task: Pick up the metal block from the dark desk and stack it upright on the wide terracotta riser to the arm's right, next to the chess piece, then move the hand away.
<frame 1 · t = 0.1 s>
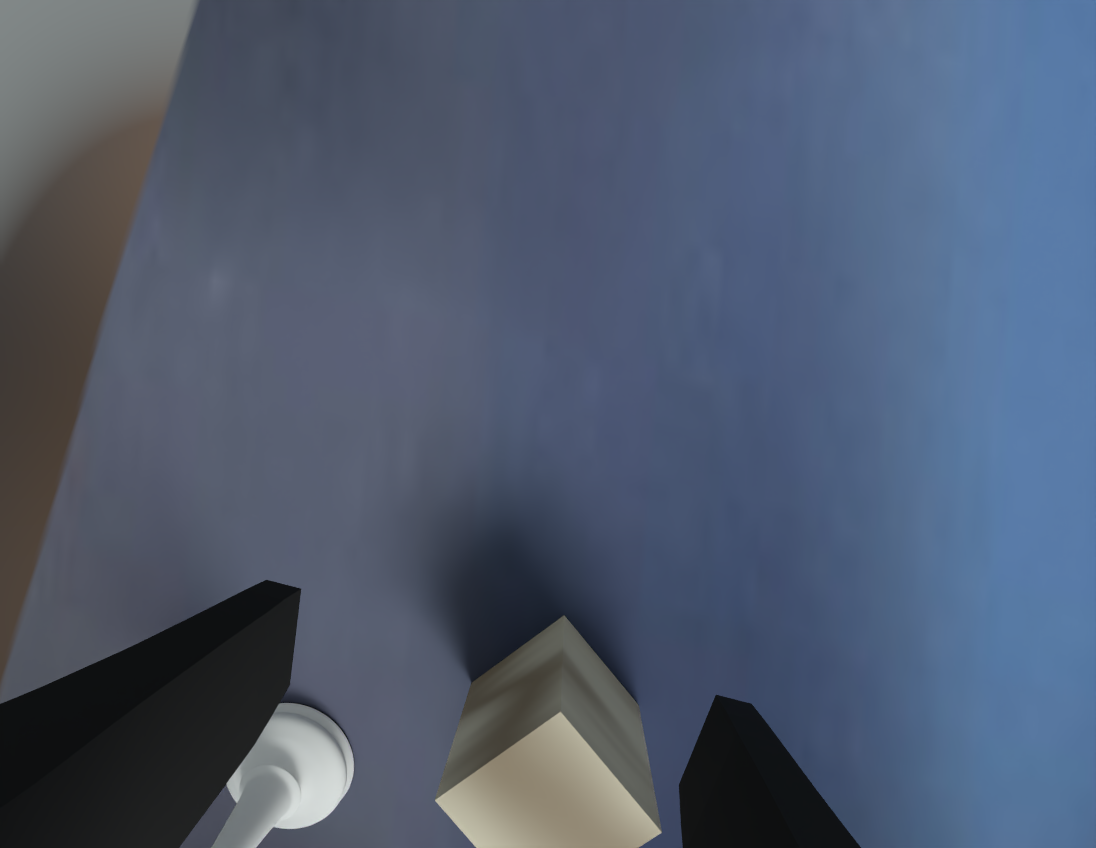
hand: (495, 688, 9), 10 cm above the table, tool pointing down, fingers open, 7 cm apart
metal block: (554, 693, 21), on the table
chess piece: (295, 755, 22), on the table
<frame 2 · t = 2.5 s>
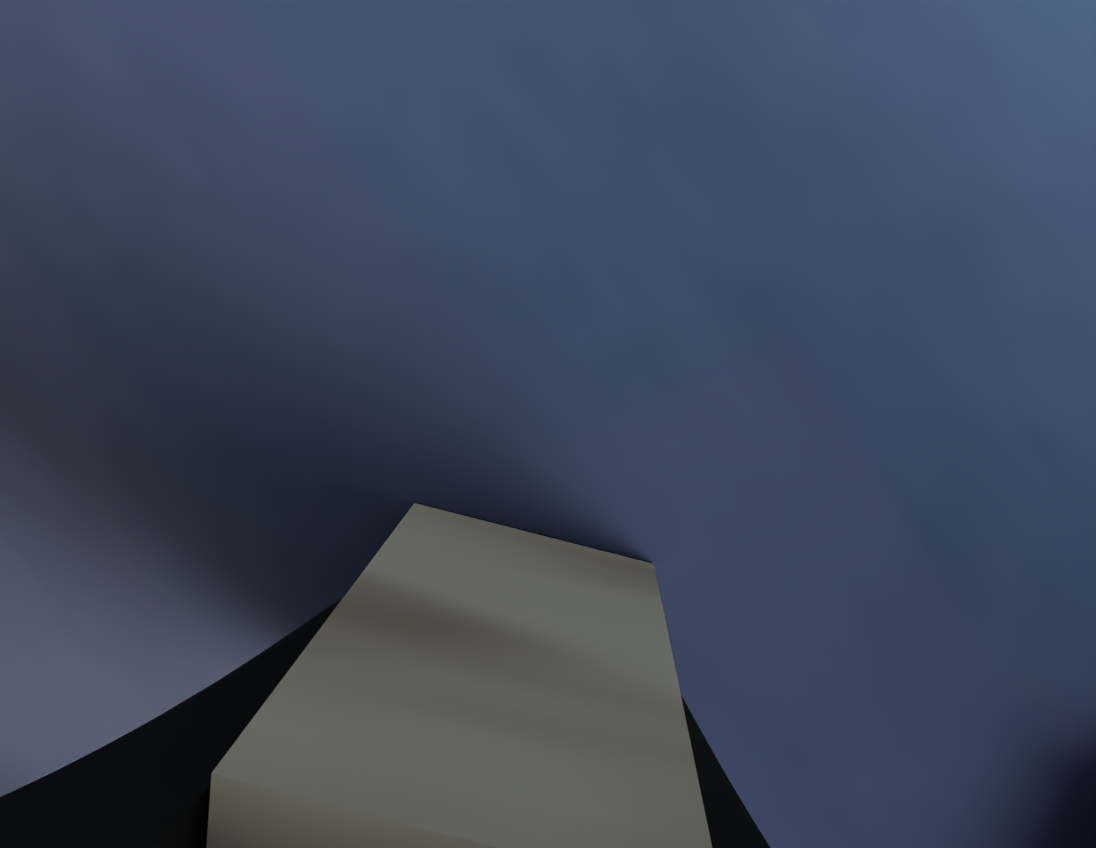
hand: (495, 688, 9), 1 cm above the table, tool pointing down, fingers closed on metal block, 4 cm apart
metal block: (507, 634, 11), on the table, touching gripper
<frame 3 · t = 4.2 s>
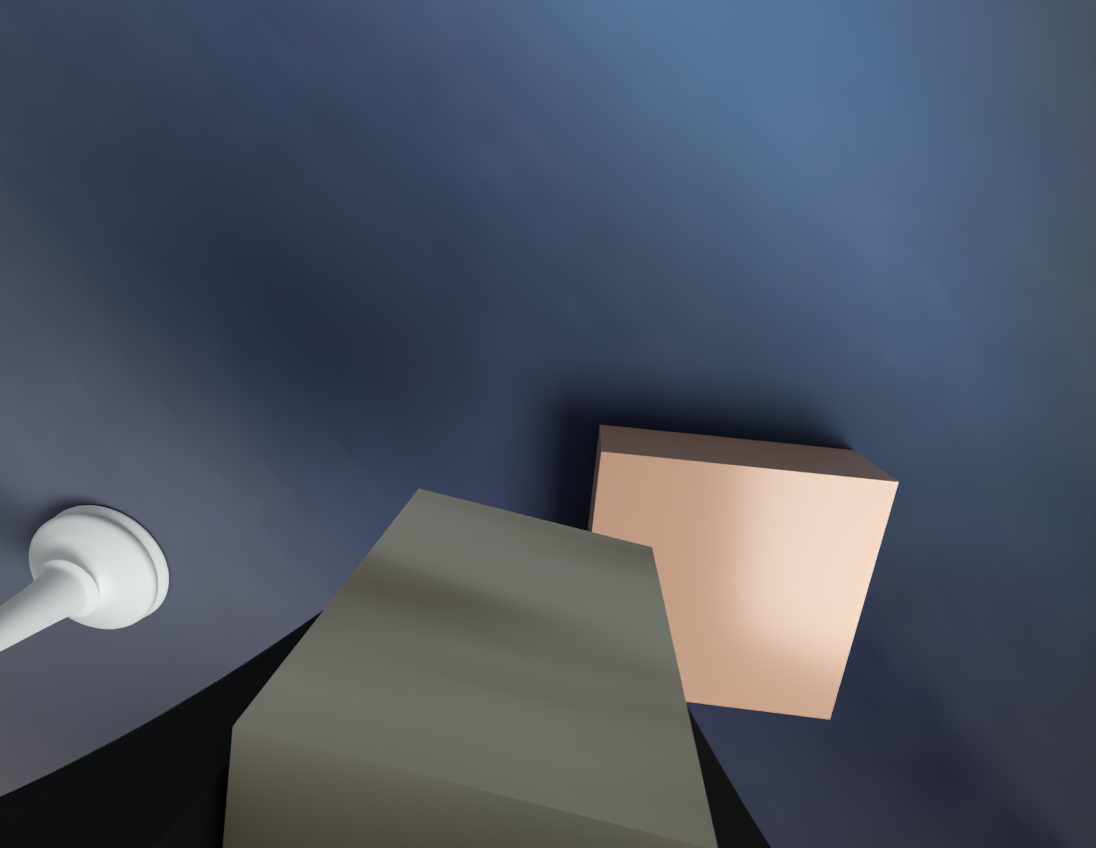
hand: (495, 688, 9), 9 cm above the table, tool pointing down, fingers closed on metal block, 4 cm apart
metal block: (510, 617, 11), point 8 cm above the table, touching gripper
chess piece: (111, 561, 21), on the table
terracotta riser: (702, 543, 19), on the table
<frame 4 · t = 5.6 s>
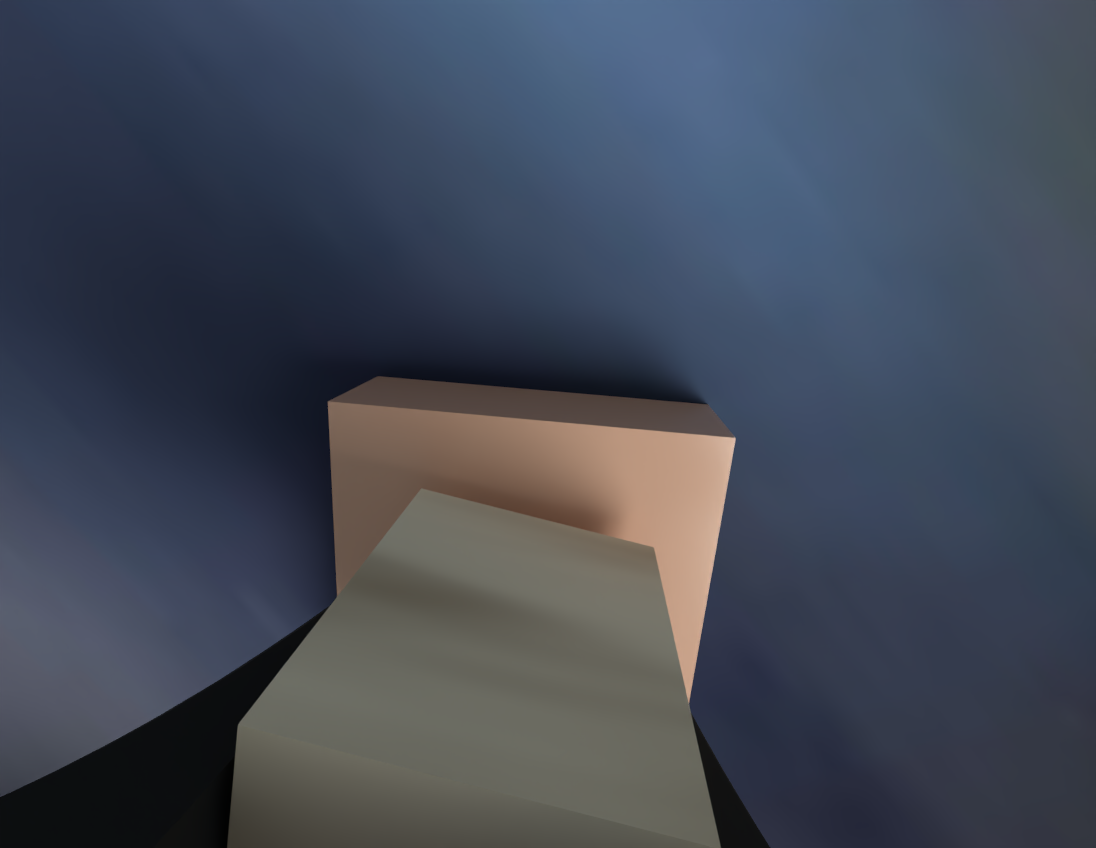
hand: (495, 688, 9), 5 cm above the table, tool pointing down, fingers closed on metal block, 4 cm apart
metal block: (511, 617, 11), point 3 cm above the table, touching gripper
terracotta riser: (531, 531, 15), on the table
when the fingers open (5 cm above the table, at t = 6.3 s): metal block stays where it is, point 3 cm above the table.
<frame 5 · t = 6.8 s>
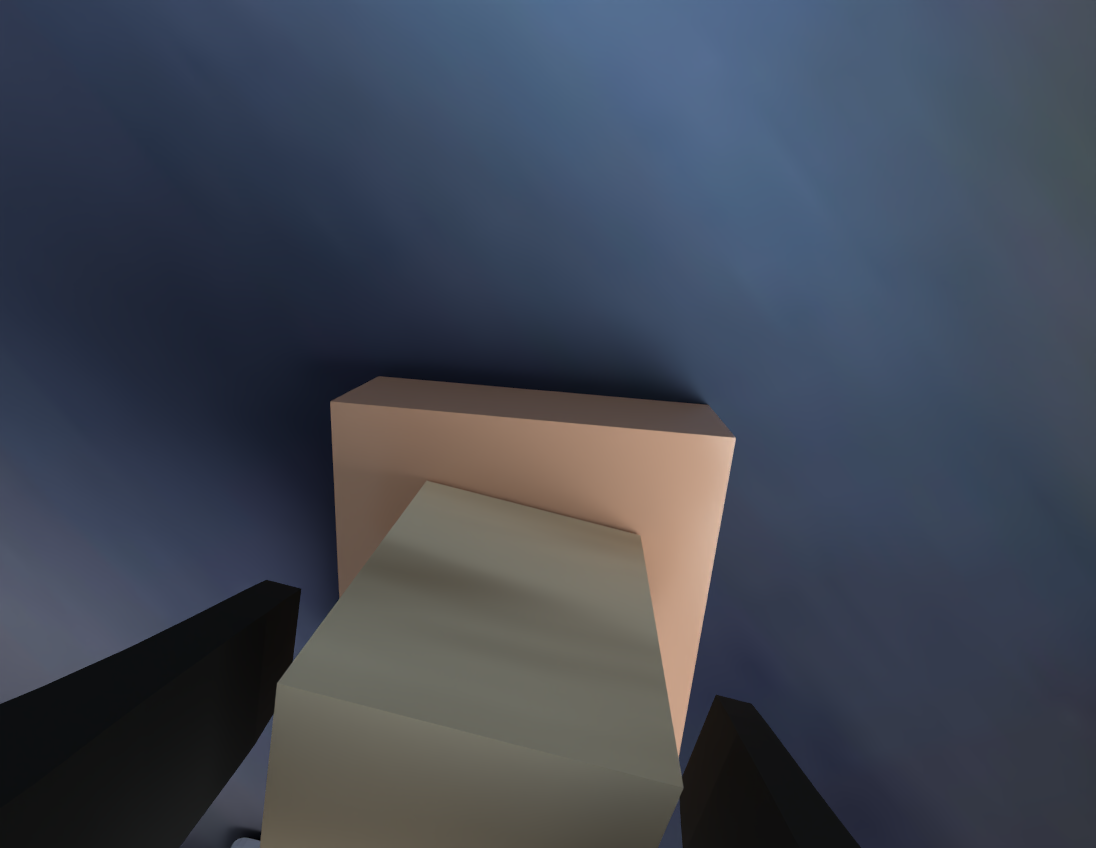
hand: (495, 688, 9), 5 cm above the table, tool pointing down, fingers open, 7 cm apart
metal block: (509, 598, 12), point 3 cm above the table
terracotta riser: (532, 530, 15), on the table
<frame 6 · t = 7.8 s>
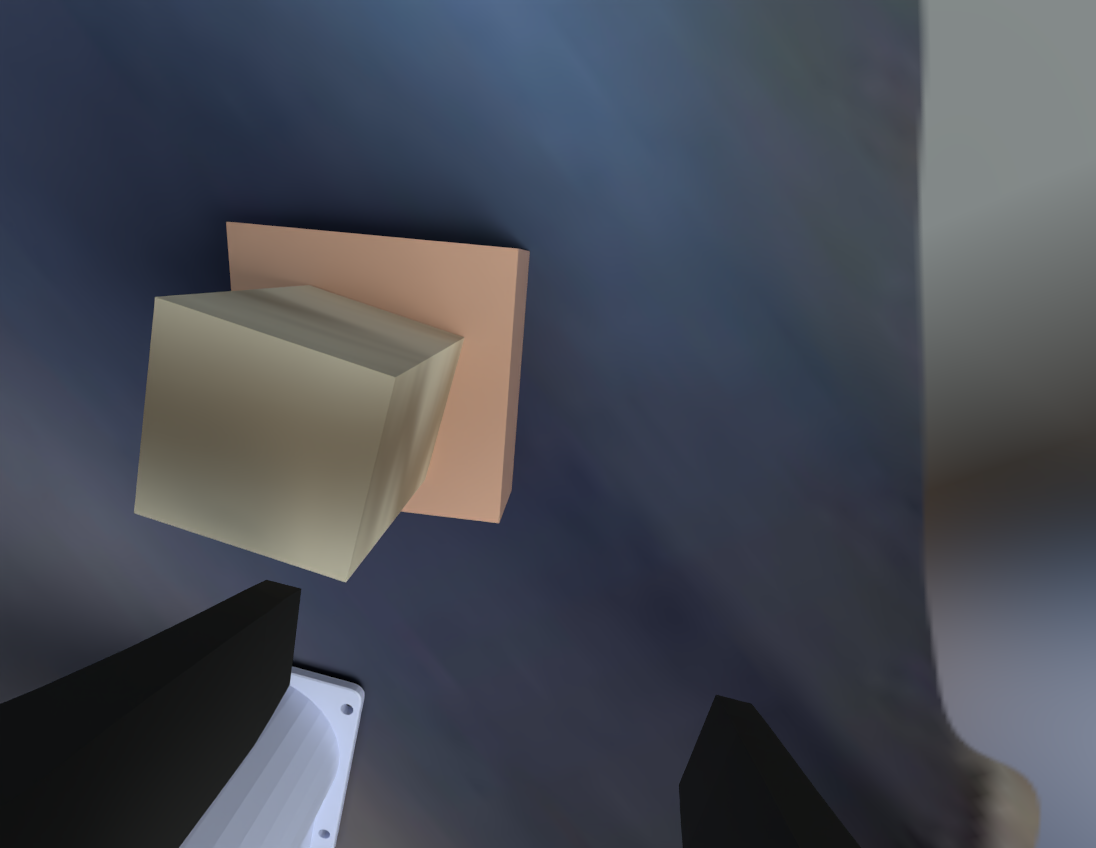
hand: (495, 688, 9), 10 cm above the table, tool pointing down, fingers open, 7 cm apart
metal block: (369, 386, 16), point 3 cm above the table, touching terracotta riser
terracotta riser: (405, 363, 18), on the table, touching metal block
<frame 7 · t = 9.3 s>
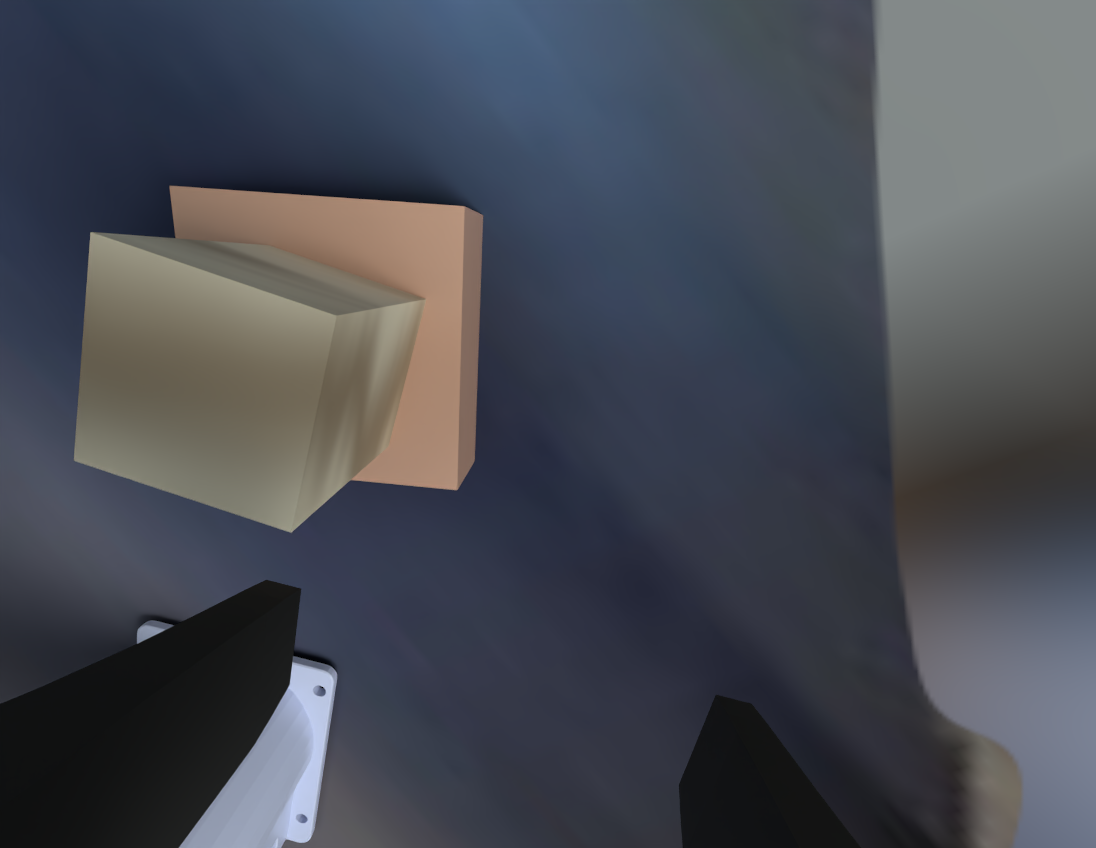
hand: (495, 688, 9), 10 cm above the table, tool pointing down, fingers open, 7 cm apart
metal block: (331, 350, 15), point 2 cm above the table, touching terracotta riser
terracotta riser: (364, 334, 18), on the table, touching metal block
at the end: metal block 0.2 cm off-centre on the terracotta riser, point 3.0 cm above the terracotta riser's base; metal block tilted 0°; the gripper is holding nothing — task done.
